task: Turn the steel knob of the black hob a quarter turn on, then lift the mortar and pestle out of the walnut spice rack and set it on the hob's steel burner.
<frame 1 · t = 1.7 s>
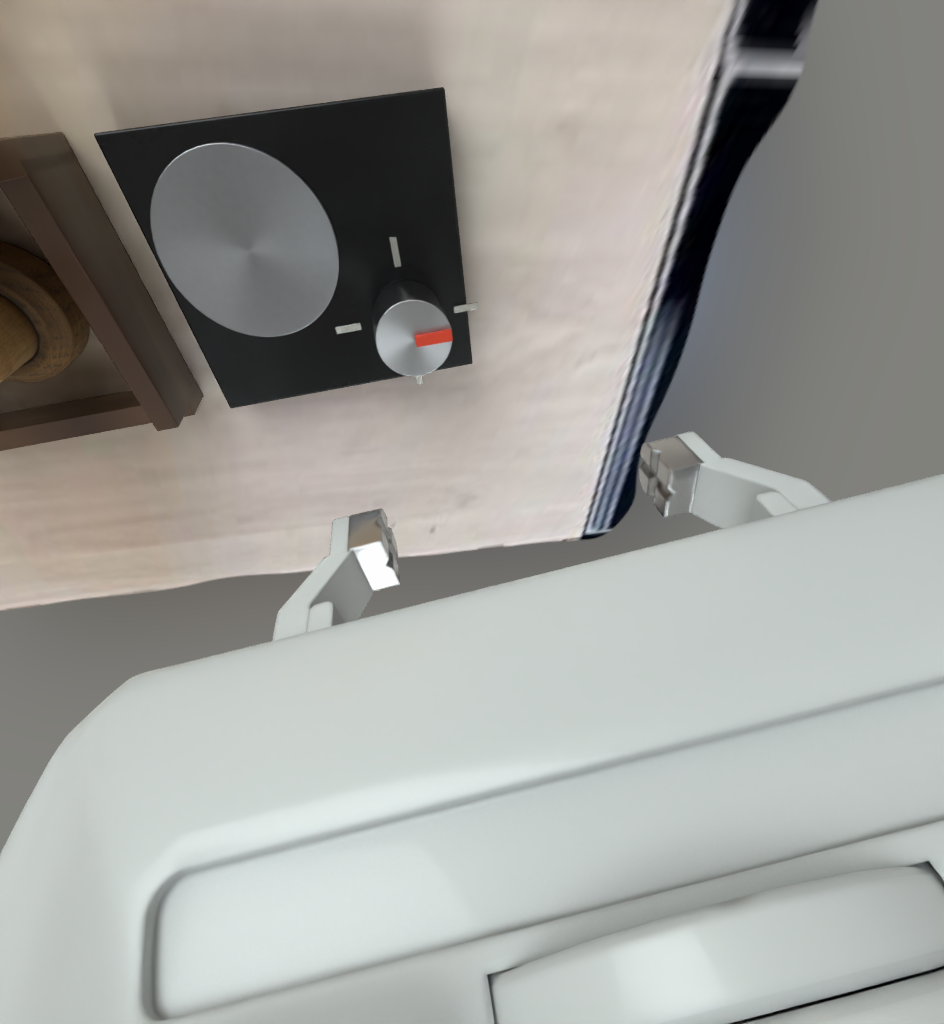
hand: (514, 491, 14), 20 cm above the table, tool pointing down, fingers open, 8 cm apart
hob: (323, 258, 27), on the table
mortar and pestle: (18, 306, 25), resting in spice rack
spice rack: (17, 307, 25), on the table
burner: (251, 249, 23), resting on hob
hob knob: (411, 329, 25), point 5 cm above the table, hinge at 0.0°
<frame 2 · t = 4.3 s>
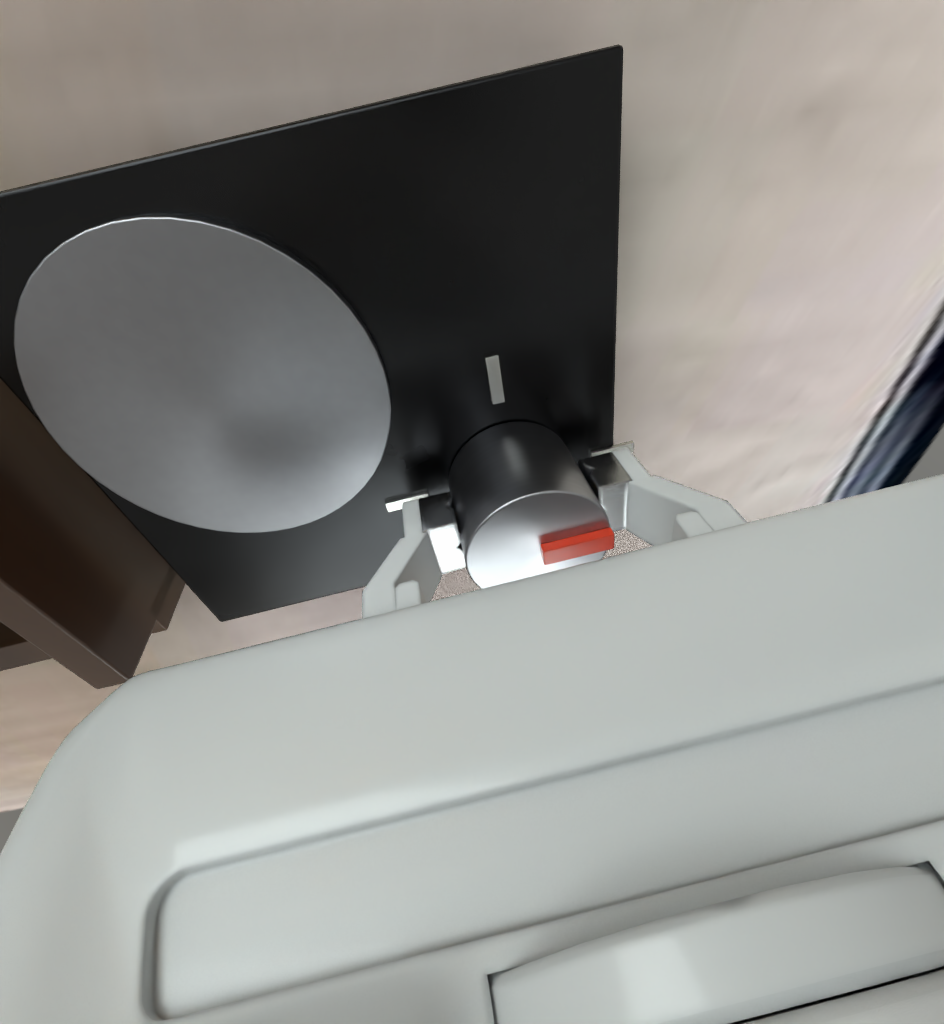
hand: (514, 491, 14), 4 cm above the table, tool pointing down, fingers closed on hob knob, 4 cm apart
hob: (360, 380, 15), on the table
burner: (227, 403, 12), resting on hob
hob knob: (524, 513, 14), point 5 cm above the table, hinge at -0.2°, touching gripper
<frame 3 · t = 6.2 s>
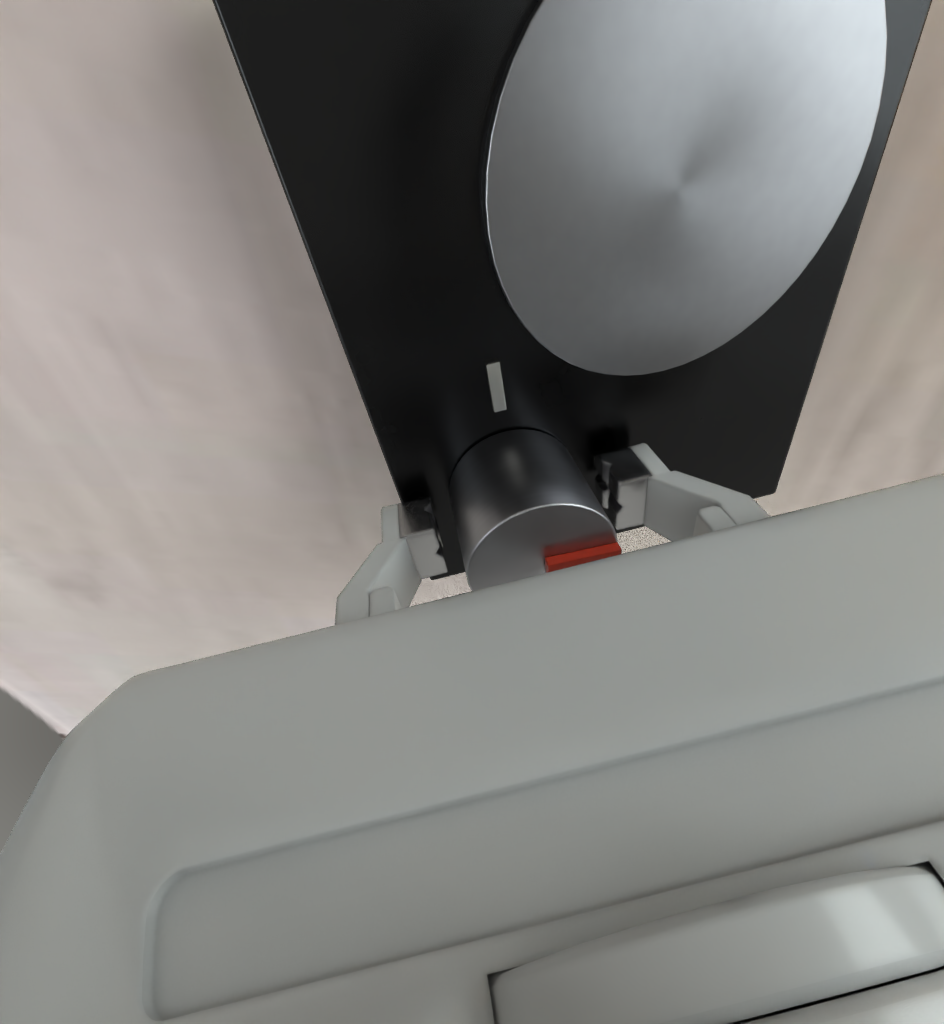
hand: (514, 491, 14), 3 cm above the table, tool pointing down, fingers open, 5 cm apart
hob: (567, 302, 14), on the table
burner: (671, 184, 10), resting on hob
hob knob: (527, 524, 13), point 5 cm above the table, hinge at 86.9°
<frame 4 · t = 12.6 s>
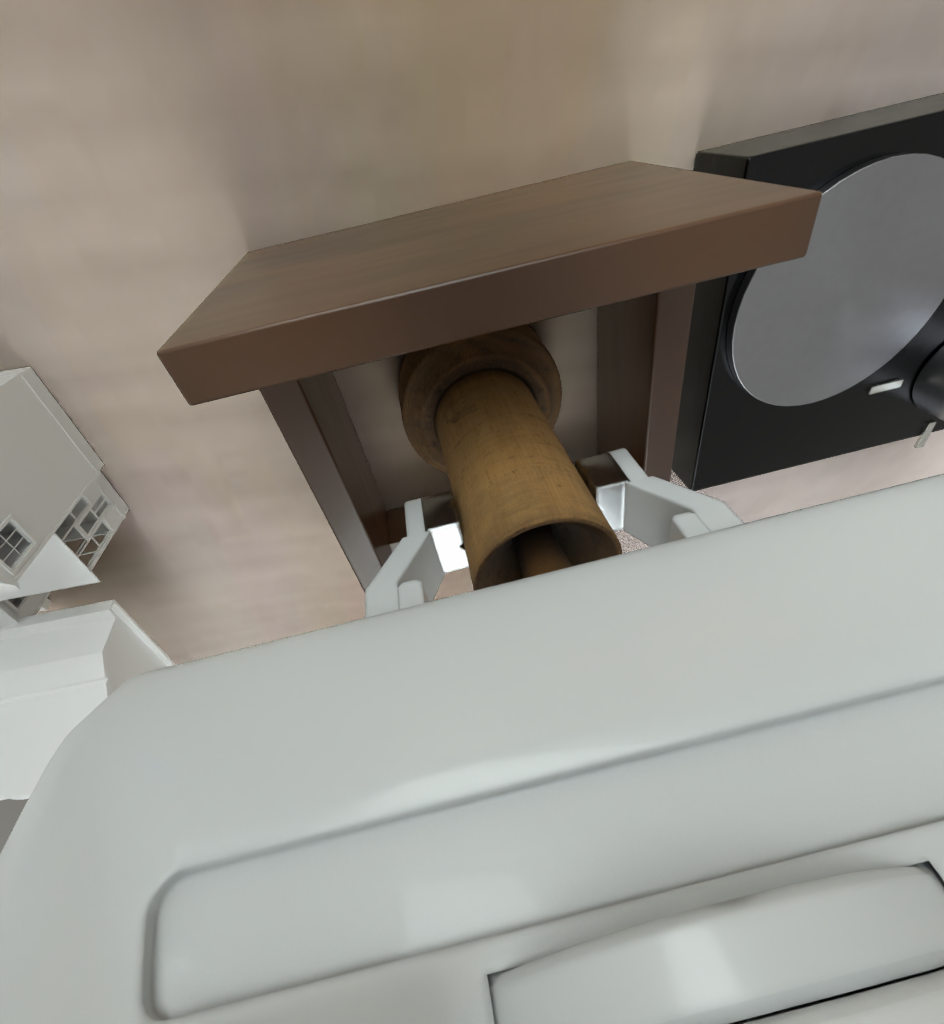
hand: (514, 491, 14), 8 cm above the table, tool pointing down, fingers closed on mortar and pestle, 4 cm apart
hob: (840, 296, 20), on the table
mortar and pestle: (473, 384, 20), resting in spice rack, touching gripper
spice rack: (473, 386, 20), on the table
burner: (838, 296, 17), resting on hob
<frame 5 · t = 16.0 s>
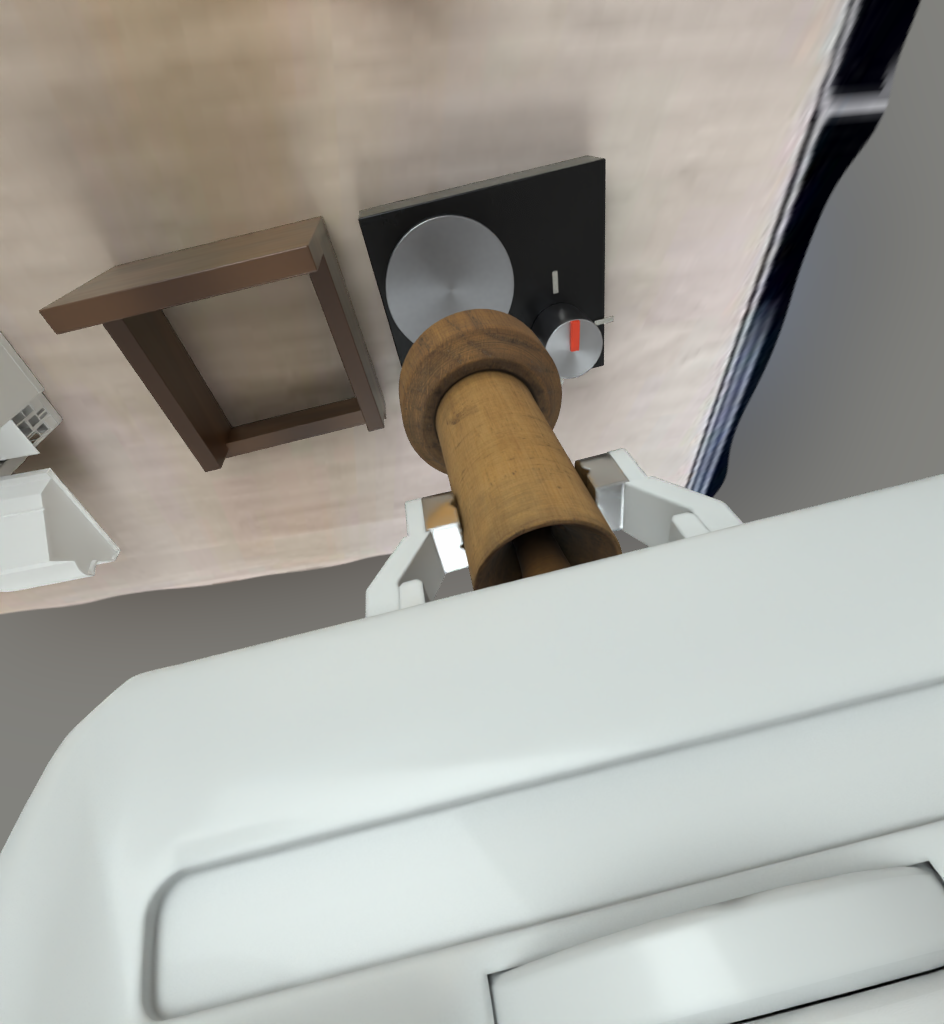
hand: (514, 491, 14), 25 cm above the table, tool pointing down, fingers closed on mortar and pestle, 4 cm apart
hob: (489, 289, 34), on the table
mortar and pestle: (473, 385, 20), point 17 cm above the table, touching gripper
spice rack: (267, 344, 34), on the table
burner: (450, 289, 31), resting on hob
hob knob: (566, 341, 32), point 5 cm above the table, hinge at 86.9°
when the fingers open (11 cm above the table, at t = 19.4 s): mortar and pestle stays where it is, resting on burner.
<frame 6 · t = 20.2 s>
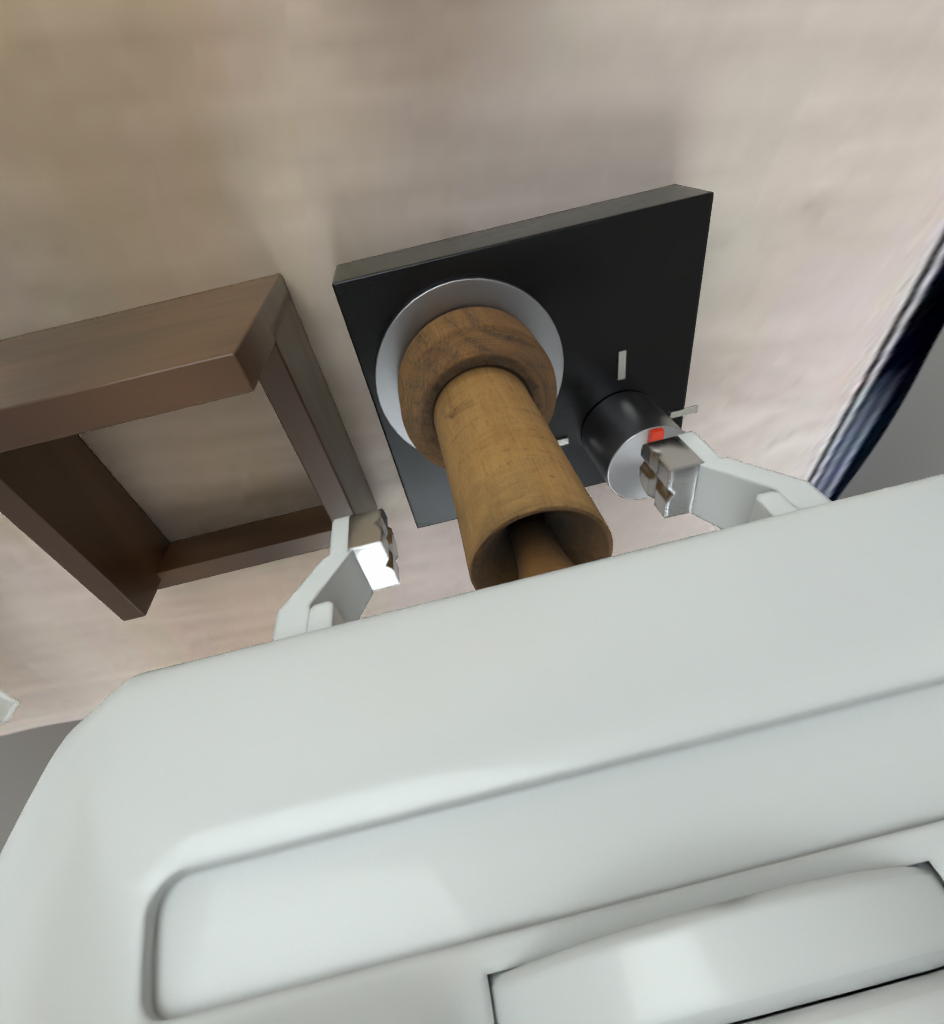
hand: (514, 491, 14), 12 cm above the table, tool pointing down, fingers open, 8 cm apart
hob: (522, 366, 24), on the table
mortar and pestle: (470, 381, 21), point 3 cm above the table, touching burner
spice rack: (211, 442, 24), on the table
burner: (470, 377, 21), resting on hob
hob knob: (634, 446, 23), point 5 cm above the table, hinge at 86.9°
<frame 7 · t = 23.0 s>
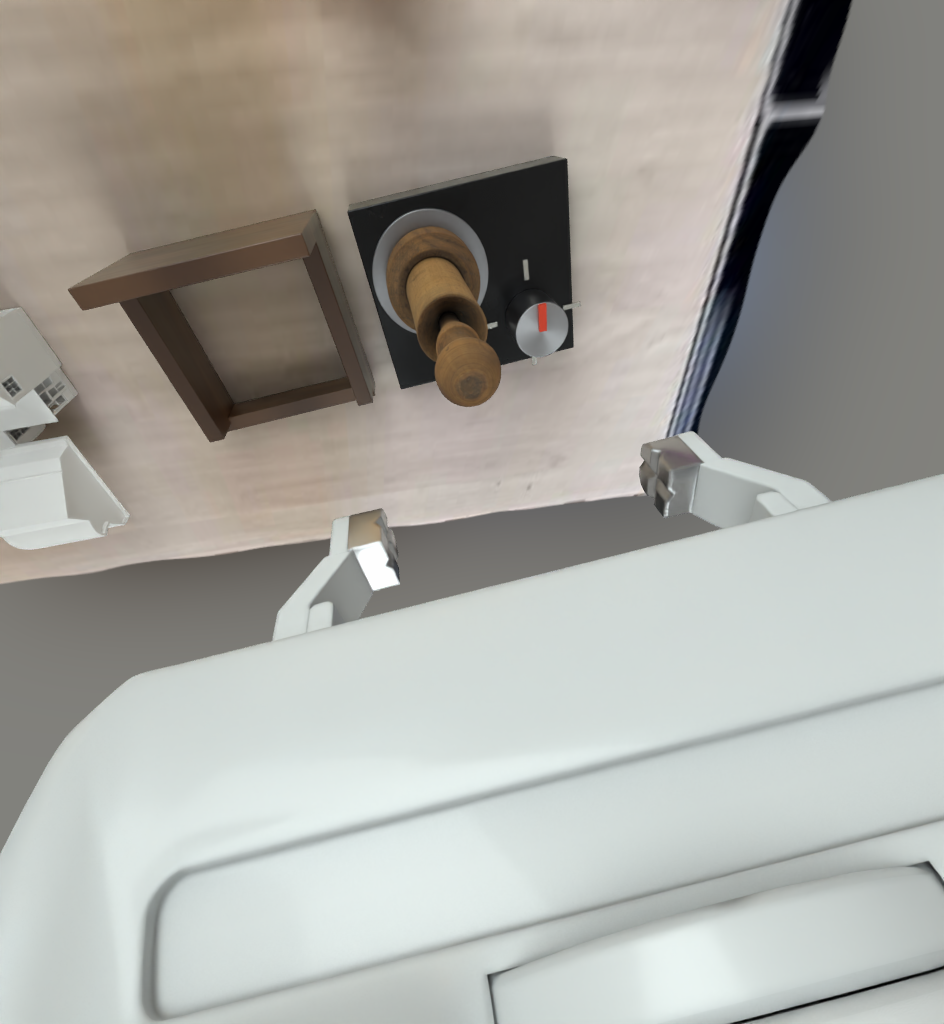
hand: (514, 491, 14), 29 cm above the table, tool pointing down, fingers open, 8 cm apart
hob: (468, 277, 37), on the table
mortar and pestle: (431, 277, 34), point 3 cm above the table, touching burner
spice rack: (266, 326, 37), on the table
burner: (431, 275, 34), resting on hob
hob knob: (536, 323, 36), point 5 cm above the table, hinge at 86.9°
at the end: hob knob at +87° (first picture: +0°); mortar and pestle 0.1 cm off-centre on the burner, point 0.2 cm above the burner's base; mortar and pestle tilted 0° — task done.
